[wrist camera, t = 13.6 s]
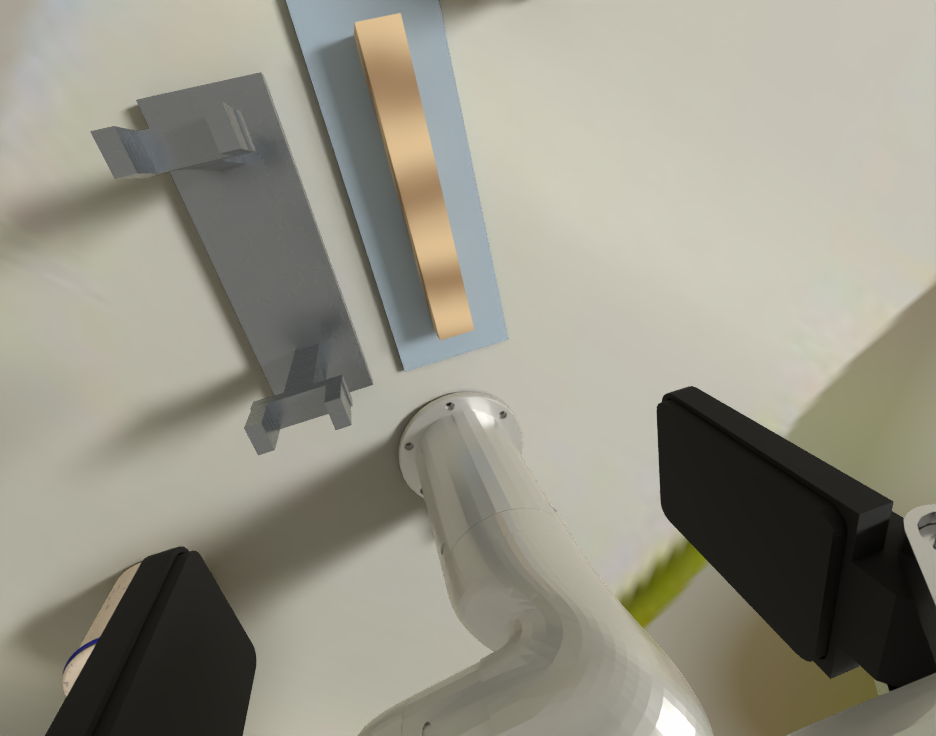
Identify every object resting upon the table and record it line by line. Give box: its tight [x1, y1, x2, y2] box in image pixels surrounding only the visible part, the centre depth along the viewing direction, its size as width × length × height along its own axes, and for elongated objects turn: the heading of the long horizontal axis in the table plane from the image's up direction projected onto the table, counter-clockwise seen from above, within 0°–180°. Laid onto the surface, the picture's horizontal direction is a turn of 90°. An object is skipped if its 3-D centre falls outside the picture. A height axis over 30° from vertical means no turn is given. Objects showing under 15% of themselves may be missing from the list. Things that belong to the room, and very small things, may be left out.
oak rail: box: [354, 13, 474, 340], centre depth 35 cm, size 22×3×3 cm, turn 13°
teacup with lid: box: [62, 562, 141, 697], centre depth 40 cm, size 12×9×12 cm
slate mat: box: [286, 0, 508, 372], centre depth 37 cm, size 28×10×1 cm, turn 14°
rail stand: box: [90, 73, 373, 455], centre depth 31 cm, size 24×8×13 cm, turn 14°
